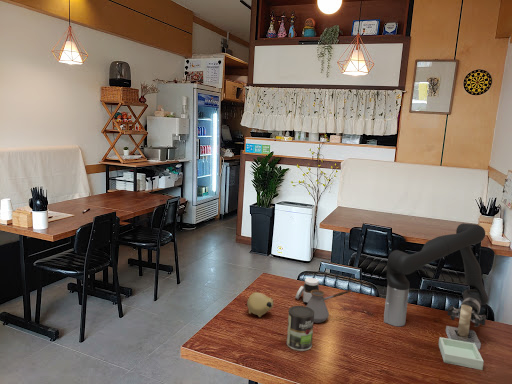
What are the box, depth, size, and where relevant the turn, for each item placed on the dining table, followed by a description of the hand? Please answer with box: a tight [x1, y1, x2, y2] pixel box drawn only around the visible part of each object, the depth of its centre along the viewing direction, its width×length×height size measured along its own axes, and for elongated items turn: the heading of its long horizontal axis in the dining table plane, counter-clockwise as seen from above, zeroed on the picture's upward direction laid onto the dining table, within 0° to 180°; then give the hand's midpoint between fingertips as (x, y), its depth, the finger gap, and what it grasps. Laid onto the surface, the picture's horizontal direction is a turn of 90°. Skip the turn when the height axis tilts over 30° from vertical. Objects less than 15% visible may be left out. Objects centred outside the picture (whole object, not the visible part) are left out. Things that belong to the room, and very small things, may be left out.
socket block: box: [445, 325, 482, 350], centre depth 162 cm, size 11×11×2 cm
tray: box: [438, 336, 484, 371], centre depth 149 cm, size 13×13×4 cm
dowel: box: [457, 304, 472, 338], centre depth 161 cm, size 4×4×15 cm
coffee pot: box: [305, 289, 353, 324], centre depth 173 cm, size 21×12×15 cm, turn 87°
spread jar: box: [294, 277, 320, 305], centre depth 192 cm, size 12×11×12 cm
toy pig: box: [246, 292, 274, 318], centre depth 175 cm, size 10×12×11 cm
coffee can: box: [286, 305, 314, 352], centre depth 152 cm, size 10×10×14 cm
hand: (464, 321), depth 159 cm, fingers open, 8 cm apart
